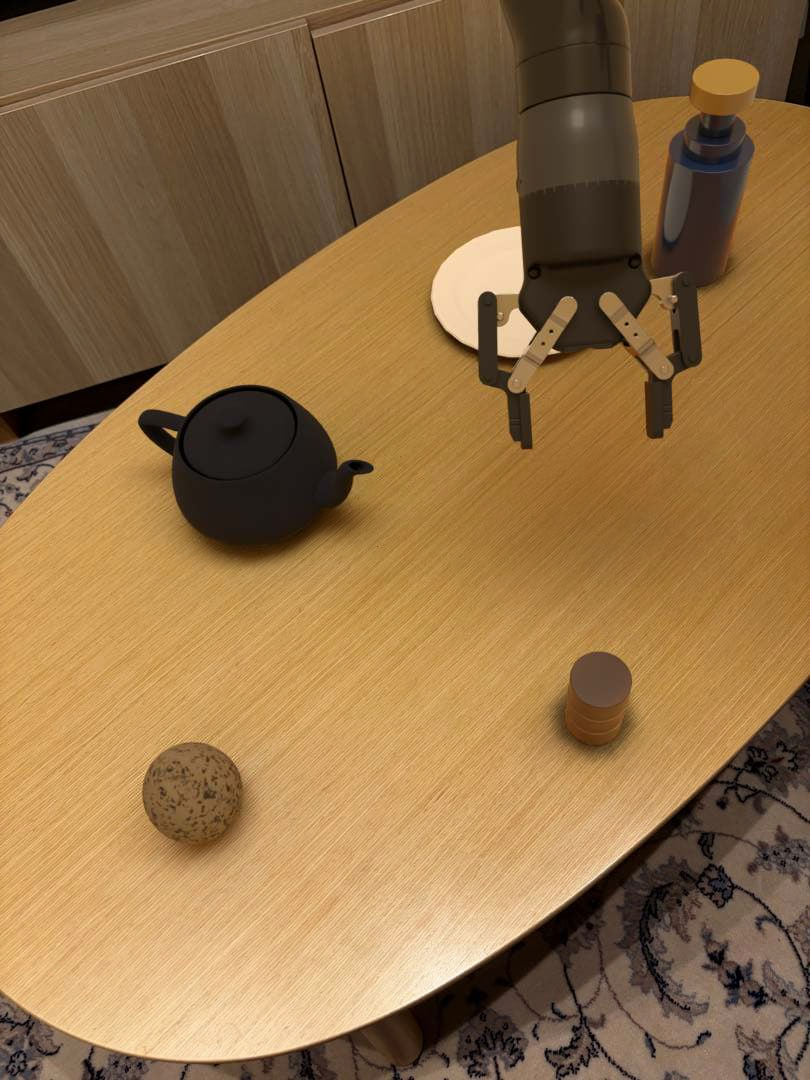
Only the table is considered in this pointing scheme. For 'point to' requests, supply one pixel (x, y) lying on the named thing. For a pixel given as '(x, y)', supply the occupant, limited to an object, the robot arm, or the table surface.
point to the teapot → (251, 465)
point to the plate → (483, 290)
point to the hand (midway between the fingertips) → (590, 443)
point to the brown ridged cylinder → (597, 697)
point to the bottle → (706, 174)
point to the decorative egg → (192, 792)
